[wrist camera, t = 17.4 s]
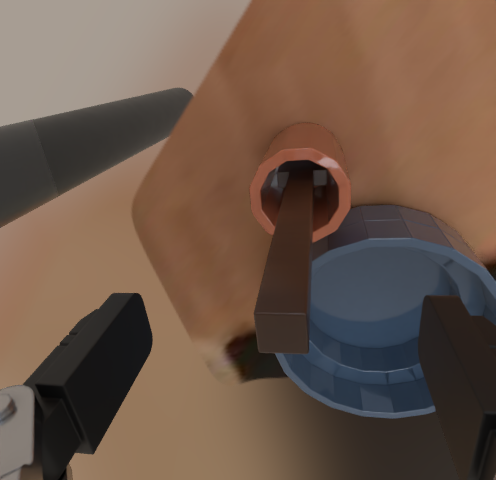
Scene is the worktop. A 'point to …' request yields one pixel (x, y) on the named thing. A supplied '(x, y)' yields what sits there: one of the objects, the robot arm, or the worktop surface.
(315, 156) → the utensil holder
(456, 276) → the bowl
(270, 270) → the stirring stick
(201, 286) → the worktop surface
